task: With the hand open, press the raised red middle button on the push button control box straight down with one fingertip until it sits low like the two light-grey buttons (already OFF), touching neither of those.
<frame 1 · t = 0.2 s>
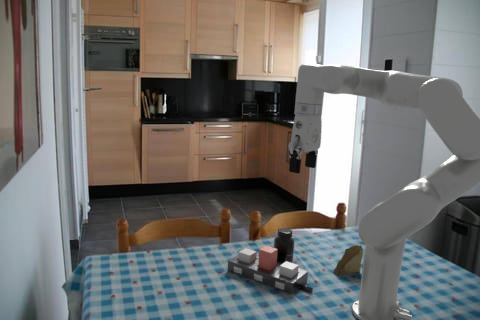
hand: (302, 169, 123), 36 cm above the table, tool pointing down, fingers open, 9 cm apart
button 1: (288, 274, 130), point 3 cm above the table, slide at 3.0 cm
button 3: (247, 260, 138), point 3 cm above the table, slide at 3.0 cm
supplement bottle: (282, 264, 145), on the table
button 2: (267, 258, 133), point 6 cm above the table, slide at 0.0 cm
push button control box: (266, 277, 135), on the table
rock: (346, 272, 142), on the table
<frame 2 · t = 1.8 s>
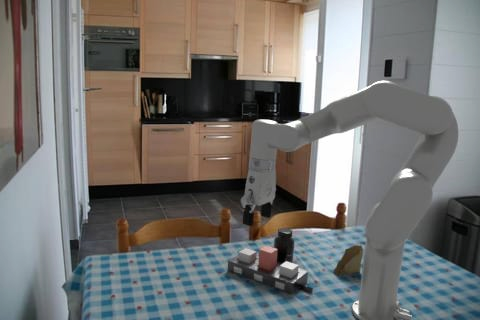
hand: (256, 220, 126), 20 cm above the table, tool pointing down, fingers open, 9 cm apart
nothing on the table moved.
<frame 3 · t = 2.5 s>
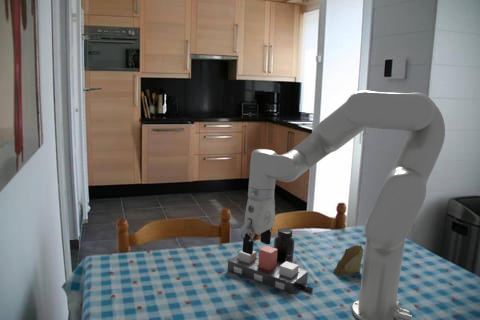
hand: (256, 247, 127), 12 cm above the table, tool pointing down, fingers open, 9 cm apart
nothing on the table moved.
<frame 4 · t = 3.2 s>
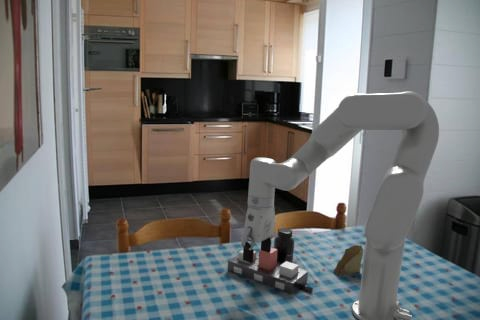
hand: (256, 255, 128), 9 cm above the table, tool pointing down, fingers open, 9 cm apart
button 2: (267, 258, 133), point 6 cm above the table, slide at 0.1 cm, touching gripper
everything else where it was.
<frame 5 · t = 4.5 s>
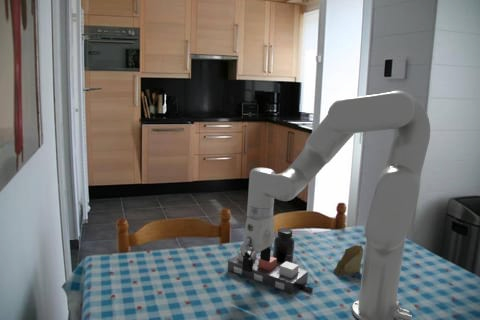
hand: (256, 265, 128), 6 cm above the table, tool pointing down, fingers open, 9 cm apart
button 2: (267, 267, 134), point 3 cm above the table, slide at 3.1 cm, touching gripper
everything else where it was.
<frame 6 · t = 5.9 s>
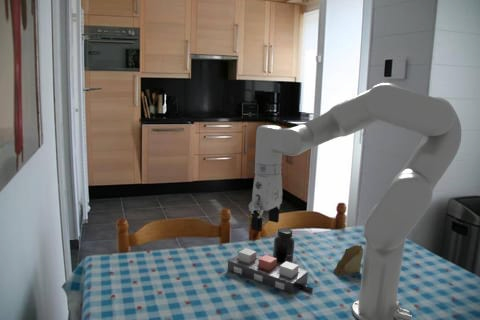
hand: (265, 225, 126), 19 cm above the table, tool pointing down, fingers open, 9 cm apart
button 2: (267, 267, 134), point 3 cm above the table, slide at 3.1 cm
everything else where it was.
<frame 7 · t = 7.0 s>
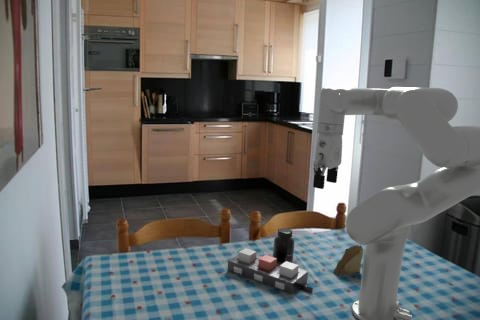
hand: (325, 185, 131), 30 cm above the table, tool pointing down, fingers open, 9 cm apart
nothing on the table moved.
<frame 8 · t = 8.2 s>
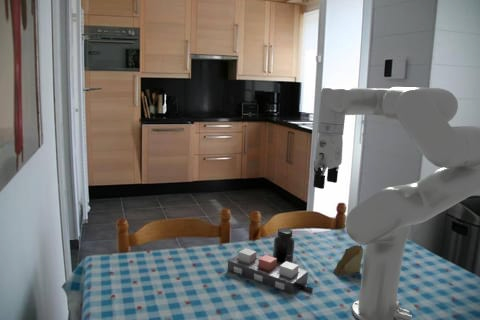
hand: (325, 184, 131), 30 cm above the table, tool pointing down, fingers open, 9 cm apart
nothing on the table moved.
at the end: button 2 slide at 3.1 cm; button 1 slide at 3.0 cm; button 3 slide at 3.0 cm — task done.
